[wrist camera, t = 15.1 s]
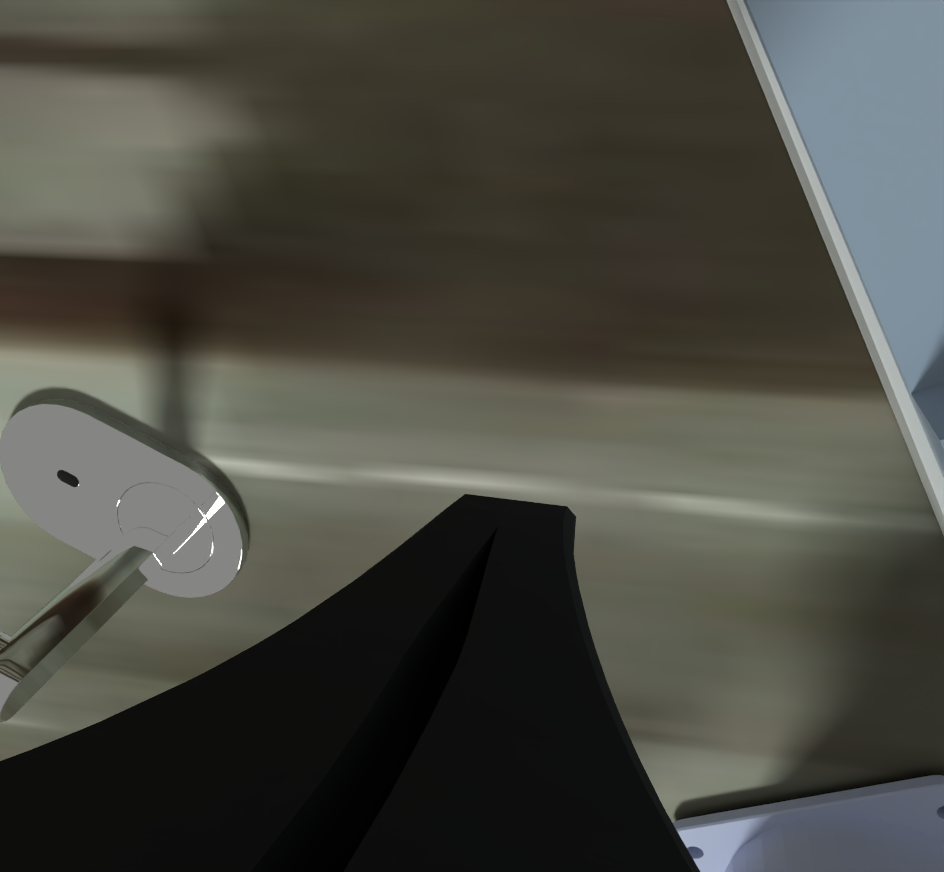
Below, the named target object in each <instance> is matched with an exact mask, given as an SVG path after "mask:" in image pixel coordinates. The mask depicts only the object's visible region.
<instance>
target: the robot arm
mask: <svg viewBox="0 0 944 872" xmlns="http://www.w3.org/2000/svg"><path fill="white" fill-rule="evenodd" d="M575 523H576V516H575V515H574V514H573V513H572V512H571V510H570V509H569V508H568V507H567V506H558V505H550V504H542V503H534V502H526V501H518V500H510V499H501V498H493V497H485V496H477V495H469V494H465V495H463V496H462V497H461V498H459V499H458V500H457V501H456V502H454V503H453V504H452V505H450V506H449V507H448V508H446V509H445V510H444V511H443V512H441V513H440V514H439V515H438V516H436V517H435V518H434V519H433V520H431V521H430V522H429V523H428V524H427V525H425V526H424V527H423V528H422V529H420V530H419V531H418V532H417V533H415V534H414V535H413V536H412V537H410V538H409V539H408V540H407V541H405V542H404V543H403V544H402V545H400V546H399V547H398V548H397V549H395V550H394V551H393V552H391V553H390V554H389V555H387V556H386V557H385V558H383V559H382V560H381V561H380V562H378V563H377V564H376V565H374V566H373V567H372V568H370V569H369V570H368V571H366V572H365V573H364V574H362V575H361V576H360V577H359V578H357V579H356V580H354V581H353V582H352V583H350V584H349V585H347V586H346V587H344V588H343V589H341V590H340V591H338V592H337V593H335V594H334V595H333V596H331V597H330V598H328V599H327V600H325V601H324V602H322V603H321V604H319V605H318V606H316V607H315V608H313V609H312V610H311V611H309V612H308V613H306V614H305V615H303V616H302V617H300V618H299V619H297V620H296V621H294V622H292V623H291V624H289V625H288V626H286V627H284V628H283V629H281V630H280V631H278V632H276V633H275V634H273V635H271V636H270V637H268V638H266V639H264V640H263V641H261V642H259V643H258V644H256V645H254V646H252V647H251V648H249V649H247V650H245V651H243V652H241V653H240V654H238V655H236V656H234V657H232V658H231V659H229V660H227V661H225V662H223V663H221V664H220V665H218V666H216V667H214V668H212V669H210V670H209V671H207V672H205V673H203V674H201V675H199V676H197V677H195V678H193V679H191V680H189V681H187V682H184V683H182V684H180V685H178V686H176V687H174V688H172V689H169V690H167V691H165V692H163V693H161V694H159V695H157V696H154V697H152V698H150V699H148V700H146V701H144V702H141V703H139V704H137V705H135V706H133V707H131V708H129V709H126V710H124V711H122V712H120V713H118V714H116V715H114V716H111V717H109V718H107V719H105V720H103V721H101V722H98V723H96V724H94V725H91V726H89V727H86V728H84V729H82V730H79V731H77V732H74V733H72V734H69V735H67V736H64V737H62V738H59V739H57V740H54V741H52V742H49V743H47V744H44V745H42V746H39V747H37V748H34V749H32V750H29V751H27V752H24V753H21V754H19V755H16V756H13V757H10V758H8V759H5V760H2V761H0V872H944V807H942V806H944V776H942V775H930V776H925V777H919V778H913V779H908V780H902V781H896V782H891V783H885V784H879V785H873V786H868V787H862V788H856V789H851V790H845V791H839V792H834V793H828V794H822V795H816V796H811V797H805V798H799V799H794V800H788V801H782V802H777V803H771V804H765V805H760V806H754V807H748V808H742V809H737V810H731V811H725V812H720V813H714V814H708V815H703V816H697V817H691V818H685V819H681V820H678V821H675V822H674V823H672V822H671V820H670V818H669V816H668V815H667V813H666V811H665V809H664V807H663V805H662V803H661V802H660V799H659V797H658V795H657V793H656V791H655V789H654V787H653V785H652V783H651V781H650V779H649V777H648V775H647V773H646V771H645V769H644V767H643V765H642V763H641V761H640V759H639V757H638V755H637V753H636V750H635V748H634V746H633V744H632V741H631V739H630V737H629V735H628V732H627V730H626V728H625V726H624V724H623V721H622V719H621V717H620V714H619V712H618V709H617V707H616V704H615V702H614V699H613V697H612V694H611V691H610V689H609V686H608V684H607V681H606V678H605V675H604V672H603V669H602V666H601V664H600V661H599V658H598V655H597V652H596V649H595V646H594V643H593V639H592V636H591V633H590V629H589V626H588V622H587V618H586V614H585V610H584V606H583V602H582V598H581V594H580V590H579V585H578V580H577V575H576V568H575V561H574V554H573V552H574V538H575ZM692 846H693V847H692Z"/></svg>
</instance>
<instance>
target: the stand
mask: <svg viewBox="0 0 944 872" xmlns="http://www.w3.org/2000/svg"><path fill="white" fill-rule="evenodd" d="M0 463H1V469H2V472H3V475H4V478H5V480H6V483H7V485H8V487H9V489H10V491H11V493H12V495H13V496H14V498H15V500H16V501H17V502H18V504H19V505H20V506H21V508H22V509H23V510H24V512H25V513H26V514H27V515H28V516H29V517H30V518H31V519H32V520H33V521H34V522H35V523H36V524H37V525H39V526H40V527H41V528H42V529H44V530H45V531H46V532H48V533H49V534H51V535H53V536H54V537H56V538H57V539H59V540H61V541H63V542H64V543H66V544H68V545H70V546H72V547H74V548H76V549H78V550H80V551H82V552H84V553H85V554H87V555H89V556H91V557H93V558H95V559H96V560H95V561H94V562H93V563H92V564H91V565H90V566H89V567H87V568H86V569H85V570H84V571H83V572H82V573H81V574H80V575H78V576H77V577H76V578H75V579H74V580H73V581H72V582H71V583H69V584H68V585H67V586H66V587H65V588H64V589H63V590H62V591H60V592H59V593H58V594H57V595H56V596H55V597H54V598H53V599H51V600H50V601H49V602H48V603H47V604H46V605H45V606H43V607H42V608H41V609H40V610H39V611H38V612H37V613H36V614H34V615H33V616H32V617H31V618H30V619H29V620H28V621H27V622H25V623H24V624H23V625H22V626H21V627H20V628H19V629H18V630H16V631H15V632H14V633H13V634H12V635H11V636H10V635H8V634H6V633H5V632H2V631H1V632H0V722H5V721H7V720H8V719H10V718H11V717H12V716H13V715H15V714H16V713H17V712H18V711H19V710H20V709H21V708H22V707H23V706H24V705H25V704H26V703H27V702H28V701H29V700H30V699H31V698H32V696H33V695H34V694H35V693H36V692H37V691H38V690H39V689H40V688H41V687H42V686H43V685H44V684H45V683H46V682H47V681H48V680H49V679H50V678H51V677H52V676H53V675H54V674H55V673H56V672H57V671H58V670H59V669H60V668H61V667H62V666H63V665H64V664H65V663H66V662H67V661H68V660H69V659H70V658H71V657H72V656H73V655H74V654H75V653H76V652H77V651H78V650H79V649H80V648H81V647H82V646H83V645H84V644H85V643H86V642H87V641H88V640H89V639H90V638H91V637H92V636H93V635H94V634H95V633H96V632H97V631H98V630H99V629H100V628H101V627H102V626H103V625H104V624H105V623H106V622H107V621H108V620H109V619H110V618H111V617H112V616H113V615H114V614H115V613H116V612H117V611H118V610H119V609H120V608H121V607H122V606H123V605H124V604H125V603H126V602H127V601H128V600H129V599H130V598H131V597H132V596H133V595H134V594H135V593H136V591H137V590H138V589H139V588H140V587H141V586H142V585H143V584H145V585H147V586H149V587H151V588H153V589H155V590H158V591H160V592H162V593H166V594H170V595H173V596H178V597H187V598H194V597H204V596H208V595H211V594H214V593H217V592H218V591H220V590H221V589H223V588H225V587H226V586H227V585H228V584H229V583H230V582H231V581H232V580H233V579H234V578H235V577H236V576H237V574H238V573H239V572H240V571H241V569H242V567H243V565H244V563H245V561H246V558H247V554H248V550H249V533H248V529H247V524H246V520H245V518H244V515H243V513H242V510H241V508H240V506H239V504H238V503H237V501H236V500H235V498H234V496H233V495H232V493H231V492H230V491H229V490H228V488H227V487H226V486H225V485H224V484H223V483H222V482H221V480H220V479H219V478H217V477H216V476H215V475H214V474H213V473H212V472H210V471H209V470H208V469H207V468H205V467H204V466H202V465H201V464H199V463H197V462H196V461H194V460H193V459H191V458H189V457H187V456H185V455H183V454H181V453H179V452H177V451H176V450H174V449H172V448H170V447H168V446H166V445H164V444H162V443H160V442H158V441H156V440H154V439H153V438H151V437H149V436H147V435H145V434H143V433H141V432H139V431H137V430H135V429H133V428H131V427H130V426H128V425H126V424H124V423H122V422H120V421H118V420H116V419H114V418H112V417H110V416H108V415H107V414H105V413H103V412H101V411H99V410H97V409H95V408H92V407H90V406H88V405H85V404H83V403H80V402H76V401H72V400H67V399H47V400H42V401H38V402H36V403H34V404H32V405H30V406H28V407H26V408H24V409H22V410H20V411H19V412H17V413H16V414H15V415H14V416H13V417H12V418H11V419H10V420H9V421H8V423H7V424H6V426H5V428H4V429H3V432H2V435H1V439H0Z"/></svg>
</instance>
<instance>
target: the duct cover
mask: <svg viewBox="0 0 944 872" xmlns="http://www.w3.org/2000/svg"><path fill="white" fill-rule="evenodd" d="M743 1H744V4H745V6H746V8H747V11H748V13H749V16H750V18H751V20H752V23H753V25H754V27H755V30H756V32H757V35H758V37H759V39H760V42H761V44H762V46H763V49H764V51H765V54H766V56H767V58H768V61H769V63H770V66H771V68H772V70H773V73H774V75H775V77H776V80H777V82H778V85H779V87H780V89H781V92H782V94H783V97H784V99H785V101H786V104H787V106H788V108H789V111H790V113H791V116H792V118H793V120H794V123H795V125H796V128H797V130H798V132H799V135H800V137H801V139H802V142H803V144H804V147H805V149H806V151H807V154H808V156H809V158H810V161H811V163H812V166H813V168H814V170H815V173H816V175H817V178H818V180H819V182H820V185H821V187H822V189H823V192H824V194H825V197H826V199H827V201H828V204H829V206H830V209H831V211H832V213H833V216H834V218H835V220H836V223H837V225H838V228H839V230H840V232H841V235H842V237H843V239H844V242H845V244H846V247H847V249H848V251H849V254H850V256H851V259H852V261H853V263H854V266H855V268H856V270H857V273H858V275H859V278H860V280H861V282H862V285H863V287H864V290H865V292H866V294H867V297H868V299H869V301H870V304H871V306H872V309H873V311H874V313H875V316H876V318H877V320H878V323H879V325H880V328H881V330H882V332H883V335H884V337H885V340H886V342H887V344H888V347H889V349H890V351H891V354H892V356H893V359H894V361H895V363H896V366H897V368H898V371H899V373H900V375H901V378H902V380H903V382H904V385H905V387H906V390H907V392H908V394H909V397H910V399H911V402H912V404H913V406H914V409H915V411H916V413H917V416H918V418H919V421H920V423H921V425H922V428H923V430H924V432H925V435H926V437H927V440H928V442H929V444H930V447H931V449H932V452H933V454H934V456H935V459H936V461H937V463H938V466H939V468H940V471H941V473H942V475H943V478H944V0H743Z"/></svg>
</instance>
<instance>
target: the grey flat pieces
mask: <svg viewBox="0 0 944 872" xmlns="http://www.w3.org/2000/svg"><path fill="white" fill-rule="evenodd" d="M727 3H728V5H729V8H730V10H731V13H732V15H733V18H734V20H735V23H736V25H737V28H738V30H739V32H740V35H741V37H742V40H743V42H744V45H745V47H746V50H747V52H748V55H749V57H750V60H751V62H752V65H753V67H754V70H755V72H756V74H757V77H758V79H759V82H760V84H761V87H762V89H763V92H764V94H765V97H766V99H767V102H768V104H769V107H770V109H771V111H772V114H773V116H774V119H775V121H776V124H777V126H778V129H779V131H780V134H781V136H782V139H783V141H784V144H785V146H786V148H787V151H788V153H789V156H790V158H791V161H792V163H793V166H794V168H795V171H796V173H797V176H798V178H799V181H800V183H801V185H802V188H803V190H804V193H805V195H806V198H807V200H808V203H809V205H810V208H811V210H812V213H813V215H814V218H815V220H816V222H817V225H818V227H819V230H820V232H821V235H822V237H823V240H824V242H825V245H826V247H827V250H828V252H829V255H830V257H831V259H832V262H833V264H834V267H835V269H836V272H837V274H838V277H839V279H840V282H841V284H842V287H843V289H844V292H845V294H846V296H847V299H848V301H849V304H850V306H851V309H852V311H853V314H854V316H855V319H856V321H857V324H858V326H859V329H860V331H861V333H862V336H863V338H864V341H865V343H866V346H867V348H868V351H869V353H870V356H871V358H872V361H873V363H874V366H875V368H876V370H877V373H878V375H879V378H880V380H881V383H882V385H883V388H884V390H885V393H886V395H887V398H888V400H889V403H890V405H891V407H892V410H893V412H894V415H895V417H896V420H897V422H898V425H899V427H900V430H901V432H902V435H903V437H904V440H905V442H906V444H907V447H908V449H909V452H910V454H911V457H912V459H913V462H914V464H915V467H916V469H917V472H918V474H919V477H920V479H921V482H922V484H923V486H924V489H925V491H926V494H927V496H928V499H929V501H930V504H931V506H932V509H933V511H934V514H935V516H936V519H937V521H938V523H939V526H940V528H941V531H942V533H943V536H944V478H943V475H942V473H941V471H940V468H939V466H938V463H937V461H936V459H935V456H934V454H933V452H932V449H931V447H930V444H929V442H928V440H927V437H926V435H925V432H924V430H923V428H922V425H921V423H920V421H919V418H918V416H917V413H916V411H915V409H914V406H913V404H912V402H911V399H910V397H909V394H908V392H907V390H906V387H905V385H904V382H903V380H902V378H901V375H900V373H899V371H898V368H897V366H896V363H895V361H894V359H893V356H892V354H891V351H890V349H889V347H888V344H887V342H886V340H885V337H884V335H883V332H882V330H881V328H880V325H879V323H878V320H877V318H876V316H875V313H874V311H873V309H872V306H871V304H870V301H869V299H868V297H867V294H866V292H865V290H864V287H863V285H862V282H861V280H860V278H859V275H858V273H857V270H856V268H855V266H854V263H853V261H852V259H851V256H850V254H849V251H848V249H847V247H846V244H845V242H844V239H843V237H842V235H841V232H840V230H839V228H838V225H837V223H836V220H835V218H834V216H833V213H832V211H831V209H830V206H829V204H828V201H827V199H826V197H825V194H824V192H823V189H822V187H821V185H820V182H819V180H818V178H817V175H816V173H815V170H814V168H813V166H812V163H811V161H810V158H809V156H808V154H807V151H806V149H805V147H804V144H803V142H802V139H801V137H800V135H799V132H798V130H797V128H796V125H795V123H794V120H793V118H792V116H791V113H790V111H789V108H788V106H787V104H786V101H785V99H784V97H783V94H782V92H781V89H780V87H779V85H778V82H777V80H776V77H775V75H774V73H773V70H772V68H771V66H770V63H769V61H768V58H767V56H766V54H765V51H764V49H763V46H762V44H761V42H760V39H759V37H758V35H757V32H756V30H755V27H754V25H753V23H752V20H751V18H750V16H749V13H748V11H747V8H746V6H745V4H744V1H743V0H727Z"/></svg>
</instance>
